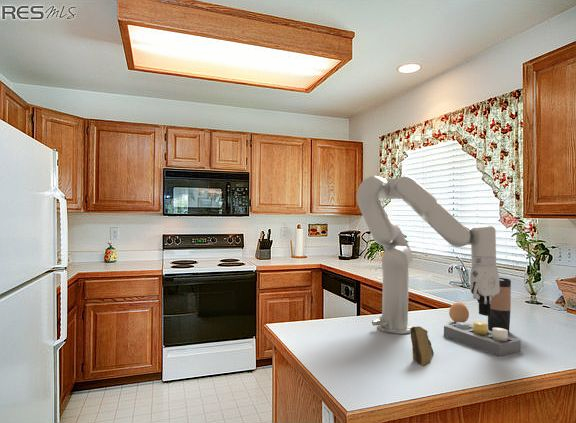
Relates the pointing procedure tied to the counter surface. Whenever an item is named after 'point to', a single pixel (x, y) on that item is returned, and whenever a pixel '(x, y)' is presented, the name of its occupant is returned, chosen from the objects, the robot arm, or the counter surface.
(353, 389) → the counter surface
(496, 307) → the travel mug
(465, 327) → the slate button
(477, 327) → the mustard button
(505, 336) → the ivory button
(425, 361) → the rock
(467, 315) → the egg
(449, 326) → the button console
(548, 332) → the counter surface
